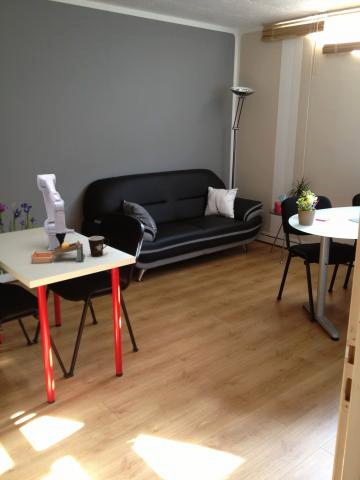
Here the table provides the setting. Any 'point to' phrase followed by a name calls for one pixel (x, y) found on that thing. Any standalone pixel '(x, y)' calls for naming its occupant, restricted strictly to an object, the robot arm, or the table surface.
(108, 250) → the table surface
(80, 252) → the pivot stand
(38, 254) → the tray
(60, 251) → the tipping chute
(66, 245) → the ball
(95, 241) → the coffee mug
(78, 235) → the table surface
